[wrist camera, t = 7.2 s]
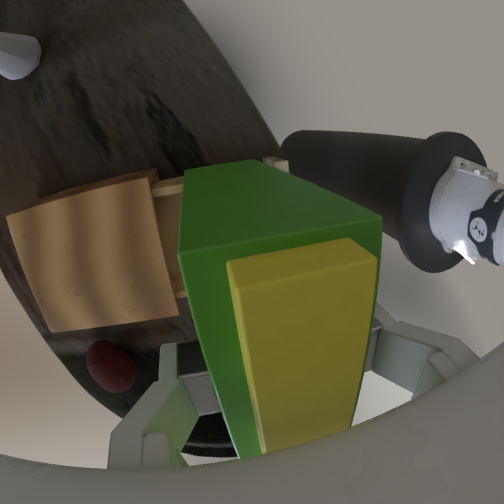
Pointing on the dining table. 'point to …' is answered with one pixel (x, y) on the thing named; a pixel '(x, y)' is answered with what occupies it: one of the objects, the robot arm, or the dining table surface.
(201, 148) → the dining table surface
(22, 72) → the salt shaker
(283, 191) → the green box yellow lid
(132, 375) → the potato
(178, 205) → the drawer
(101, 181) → the cabinet
